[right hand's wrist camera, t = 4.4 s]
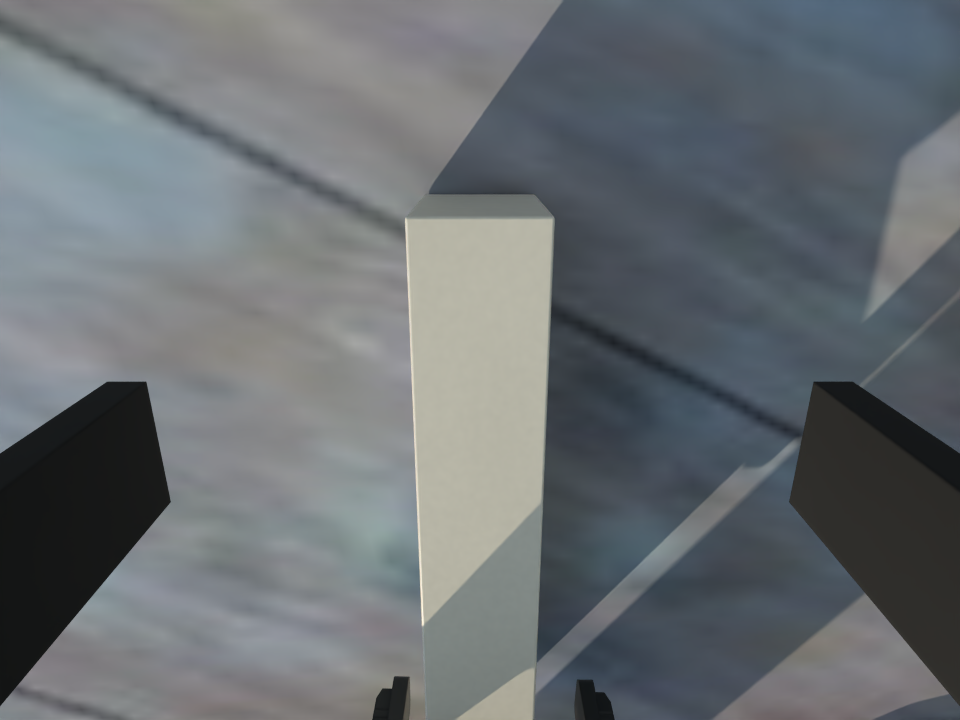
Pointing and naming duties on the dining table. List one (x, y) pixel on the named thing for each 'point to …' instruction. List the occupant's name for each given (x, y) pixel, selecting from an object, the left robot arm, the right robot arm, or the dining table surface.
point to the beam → (480, 444)
